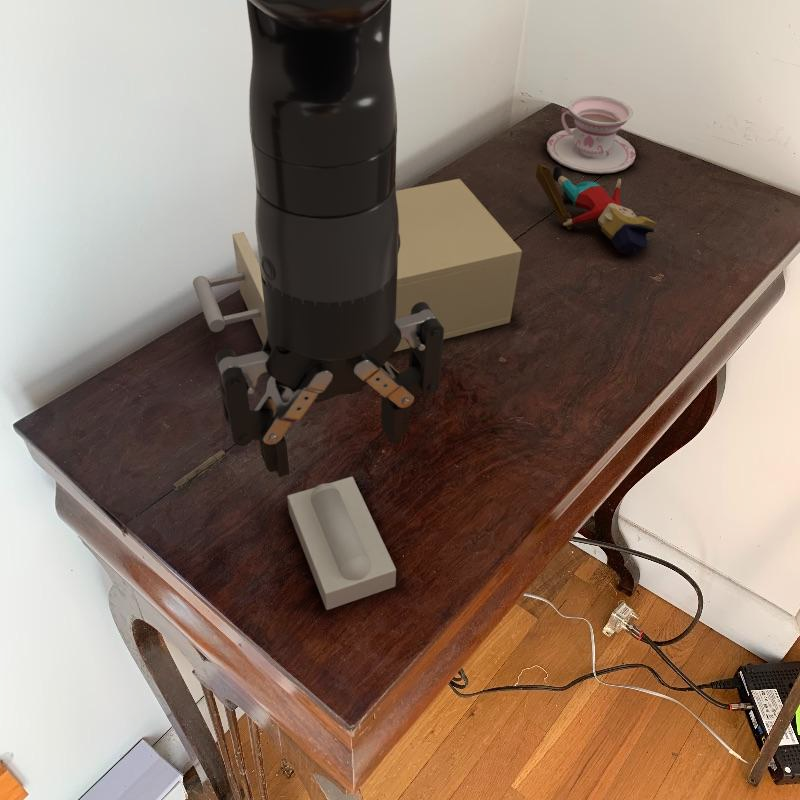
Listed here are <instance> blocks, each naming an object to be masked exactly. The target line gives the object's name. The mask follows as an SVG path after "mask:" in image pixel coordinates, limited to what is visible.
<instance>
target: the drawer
mask: <svg viewBox="0 0 800 800" xmlns="http://www.w3.org/2000/svg"><path fill="white" fill-rule="evenodd" d="M231 236H232V244H233V249H234V256H235V257H234V258H235V264H236V271H237V272H236V273H232V274H227V275H221V276H218V277H213V278H207V277H206V276H204V275H198V276H196V277H195V278H194V279H193V280H192V286H193V289H194V291H195V293H196V297H197V299H198V302H199V305H200V307H201V309H202V313H203V315H204V319H205V320H206V323H207V326H208V329H209V330H210V331H211V332H213V333H219V332H221V331H223V330H224V329H225V327H226V325H230V324H235V323H240V322H244V321H249V320H252V322H253V325H254V327H255V329H256V331H257V334H258V336H259V339H260V341H261V343H262V346H264V344H265V342H266V339H267V335H268V331H267V323H266V314H265V305H264V296H263V287H262V279H261V270H260V262H259V260H258V259H257V256H256V254H255V252H254V250H253V247H252V246H251V244H250V242H249V240H248V237H247V235H246V234H245V232H244V231H240V232H236V233H232V235H231ZM237 282H238V285H239V286H238V287H239V292H240V295H241V297H242V299H243V301H244V303H245V306H246V309H247V310H246V311H242V312H238V313H232V314H229V315H224V316H223V314H222V311H221V309H220V307H219V304H218V302H217V301H218V300H217V299H216V297H215V294H214V292H213V289H212V288H213V287H218V286H222V285H227V284H232V283H237Z"/></svg>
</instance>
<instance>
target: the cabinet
mask: <svg viewBox="0 0 800 800" xmlns="http://www.w3.org/2000/svg"><path fill="white" fill-rule="evenodd" d="M396 198H397V205H398V216H399V234H400V248H399V252H398V269H397V296H396V318H400V317H404V316H408V315H411V309H412V308H413V306H414V305H415V304H417V303H419V302H425V303H427V304H428V306H429V307H430V309H431V310H432V312H433V313H434V315H435V316H436V318H437V319H438V321H439V322H440V324H441V325H442V327H443V328H444V337H443V341H444V340H447V339H452V338H455V337H459V336H463V335H467V334H470V333H476V332H479V331H482V330H487V329H490V328H494V327H495V328H496V327H498V326H503V325H507V324H509V323H511V317H512V313H513V307H514V300H515V294H516V288H517V282H518V276H519V272H520V271H519V270H520V264H521V258H522V254H523V250H522V249H521V248H520V246H519V245H517V243H516V242H515V241H514V240H513V238H512V237H511V236H510V235H509V234H508V233H507V231H506V230H505V229H504V228H503V227H502V226H501V224H499V222H498V221H497V219H495V217H494V216H493V215H492V214H491V213H490V212H489V211H488V210H487V208H486V207H485V206H484V205H483V204H482V202H480V200H479V199H478V198H477V197H476V195H475V194H474V193H473V192H472V191H471V190H470V188H469V187H468V186H467V185H466V184H465V183H464V181H462V179H461V178H456V179H451V180H445V181H440V182H435V183H429V184H424V185H419V186H414V187H408V188H404V189H399V190H398V189H397V190H396ZM409 349H410V346H409V344H408V342H407V341H406V339H401V341H400V344H399V345H398V347H397V348H396V350H395V351H394V352H393V353H396V352H400V351H403V350H409Z"/></svg>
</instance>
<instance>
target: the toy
mask: <svg viewBox="0 0 800 800" xmlns="http://www.w3.org/2000/svg"><path fill="white" fill-rule="evenodd" d="M552 171H553V172H551V169H550V168H549V167H547V166H546V165H544V164H542V162H541V163H540V162H539V161H537V165H536V170H535V178H536V180H537V182H538V183H539V185H540V187H541V188H542V191H543V192H544V193H545V195H546V197H547V199H548V200H549V202H550V204H551V205H552V207H553V209H554V210H555V212H556V214H557V216H558V217H557V220H558V222H559V223H562V225H563V227H566V229H567V231H569V230H572V228H573V227H572V225H574V224H584V223H589V222H590V223H591V222H598V223H597V224H598V226H600V228H601V229H600V231H601V232H602V233H603V234H604V235H605V236H606V237H607V238H608V239H609V240H610V242H611V243H612V244H613V246H614V247H615V248H616V251H618V252H620V253H623V254H626V255H630V256H631V255H632V256H635V255H636V254H637V253H639V252H641V251H642V250H644V249H645V248H646V247H647V246H648V239H647V234H648V233H654V232H655V229H654V227H655V226H657V225H658V222H656V221H654V220H653V219H652V220H651V219H650V218H648V217H646V216H641V215H640V216H639V215H638V216H637V215H636V213H635V212H634V211H633V210H632V209H631V208H628V207H625V206H622V204H621V192H620V190H621V185H622V179H621V178H618V179H617V182H616V185H615V187H614V190H613V194H612V197H611V196H610V195H609V193H608V192H607V191H606V190H605V188H604V187H603V186H602V185H600V183H597V182H596V181H595V182H594V181H581V182H578V183H577V184H576V185H575V184H573V183H572V182H571V180H570V179H569V178H567V177H565V176H564V175H563V172H562V167H561V164H559V165H558V164H557V165H556V166H555V167H554V168H553V170H552ZM556 183H558V185H559V186H560V188H561V189H562V190H563V196H564V200H565V201H566V202H567V203H573V205H574V207H576V208H581V209H584V210H586V212H584V213H582V214H579V215H577V216H575V217H573V218H572V215H571V213H570V212H567V209H566V207H565V204H564V202H563V199H562V196H561V194H560V192H559V189H558V186H557V184H556Z"/></svg>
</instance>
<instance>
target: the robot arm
mask: <svg viewBox="0 0 800 800" xmlns="http://www.w3.org/2000/svg"><path fill="white" fill-rule="evenodd" d="M246 9H247V15H248V17H247V18H248V24H249V33H250V42H251V58H252V59H251V71H250V80H249V91H248V92H249V93H248V121H249V133H250V140H251V141H250V142H251V151H252V159H253V160H252V161H253V166H254V167H253V168H254V176H255V177H254V178H255V193H256V194H255V195H256V197H255V219H254V221H255V222H254V223H255V235H256V243H257V252H258V263H259V265H260V270H261V279H262V287H263V296H264V305H265V314H266V323H267V331H268V335H267V339H266V342H265V344H264V345H262V348H261V350H259V351H256V352H250V353H247V354H242V355H238V356H237V354H236V352H235V351H234V349H231V348H224V349H220V350H219V351H218V352H217V353H216V354H215V357H214V358H215V359H214V360H215V365H216V370H217V371H216V372H217V378H218V383H219V384H218V385H219V391H220V396H221V401H222V408H223V413H224V418H225V420H226V422H227V424H228V426H229V429H230V432H231V437H232V440H233V443H234V444H235V445H236V446H238V447H244V446H247V445H249V444H250V443H252V441H256V440H257V441H258V442H259V449H260V454H261V458H262V460H263V462H264V465H265V468H266V470H267V471H268V472H269V473H275V472H276V474H277V476H278V478H283V477H286V476H289V475H290V465H289V455H288V446H287V440H286V438H285V437H286V436H285V435H286V434H287V432H288V430H289V428H290V427H291V426H292V424H293V423H294V422H295V423H299V422H300V421H302V419H303V417H304V416H305V415H306V413H307V412H308V411H309V409H310V408H311V406H312V405H313V403H315V404H318V403H323V402H326V401H328V400H331V399H333V398H335V397H337V396H340V395H352V394H355V393H360V392H363V391H364V389H363V388H364V387H366V386H367V385H368V386H370V387H371V388H373V389H374V390H375V391H376V392H377V393H379V394H380V395H381V406H380V407H381V408H380V409H381V412H380V413H381V414H380V424H381V427H382V430H383V432H384V434H385V436H386V438H387V440H388V441H389V444H390V445H395V444H396V445H397V444H399V443H402V441H403V435H405V434H407V433H408V431H409V429H410V425H411V423H410V422H411V409H412V407H411V406H412V404H413V403H414V401H415V398H416V397H417V396H418V395H420V394H424V395H432V394H435V393H436V392H437V391H438V390H439V389H440V387H441V386H440V385H441V375H442V374H441V373H442V361H443V360H442V359H443V348H444V340H443V337H444V328H443V327H442V325H441V324H440V322H439V321H438V319H437V318H436V316H435V315H434V313H433V312H432V310H431V309H430V307H429V306H428V304H427V303H425V302H419V303H417V304H415V305H414V306H413V308H412V309H411V315H408V316H404V317H400V318H396V296H397V269H398V252H399V248H400V234H399V216H398V205H397V198H396V191H397V185H396V183H397V182H396V173H397V143H398V140H397V138H398V112H397V111H398V110H397V98H396V89H395V82H394V76H393V70H392V64H391V49H390V48H391V47H390V46H391V27H392V26H391V25H392V24H391V23H392V0H246ZM401 339H406V341H407V342H408V344H409V346H410V348H408V350H409V351H408V368H407V369H405V370H403V371H401V372H400V371H399V370H398V369H397V368H395V367H394V366H393V365H392V364H391V363H390V362H389V361H388V360H389V359H390V358H391V356H392V355H393V354H394V353H395V352H394V351H395V350H396V348H397V347H398V345H399V344H400V341H401ZM266 373H267V374H269V376H270V377H269V378H268V380H267V383H266V391H265V393H264V395H263V397H261V399H260V400H259V402H258V404H257V405H256V407H255V408H254V410H253V409H252V410H251V408H250V401H249V396H250V395H251V396H252V395H254V394H255V393H256V390H255V388H256V387H257V385H258V383H259V382H258V381H259V378H260V377H261V376H262V375H264V374H266Z"/></svg>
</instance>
